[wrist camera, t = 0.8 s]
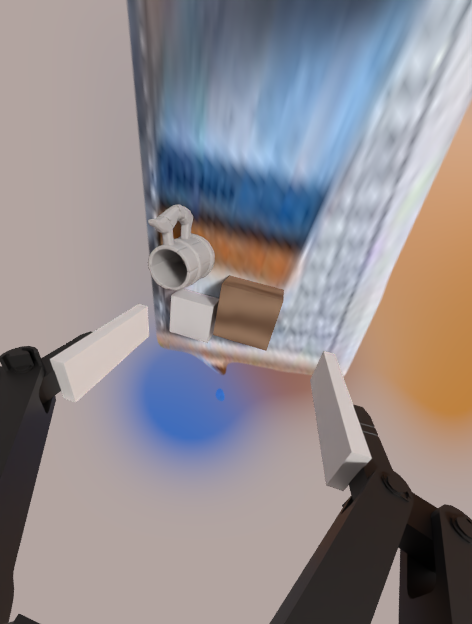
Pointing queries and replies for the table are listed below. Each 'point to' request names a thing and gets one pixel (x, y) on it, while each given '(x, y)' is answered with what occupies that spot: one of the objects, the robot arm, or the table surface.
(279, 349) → the table surface
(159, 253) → the mug
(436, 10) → the table surface
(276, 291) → the walnut block
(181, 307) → the grey block
